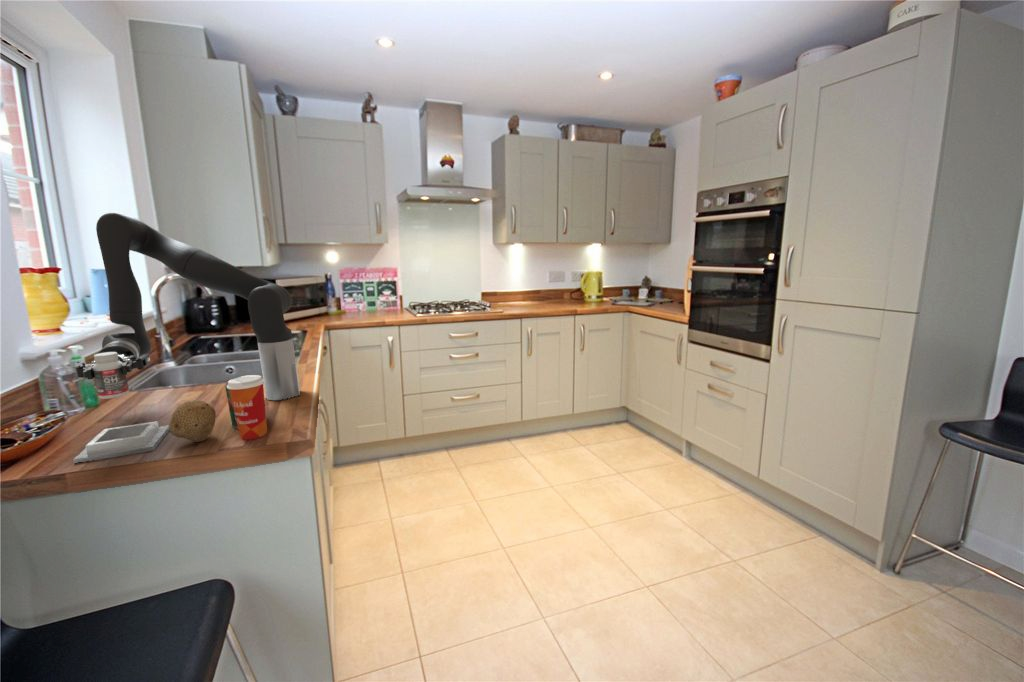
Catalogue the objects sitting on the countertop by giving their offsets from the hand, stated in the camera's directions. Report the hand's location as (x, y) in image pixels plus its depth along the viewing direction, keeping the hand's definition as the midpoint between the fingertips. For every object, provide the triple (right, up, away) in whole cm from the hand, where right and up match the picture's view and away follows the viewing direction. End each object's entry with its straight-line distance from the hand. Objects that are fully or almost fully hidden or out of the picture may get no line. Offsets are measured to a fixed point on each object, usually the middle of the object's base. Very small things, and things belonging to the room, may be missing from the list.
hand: (107, 372), depth 101 cm
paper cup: (+27, -16, +9) cm, 33 cm away
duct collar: (-1, -17, +6) cm, 18 cm away
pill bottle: (-1, -6, +3) cm, 7 cm away
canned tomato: (+21, -14, +17) cm, 31 cm away
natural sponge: (+15, -17, +6) cm, 24 cm away
